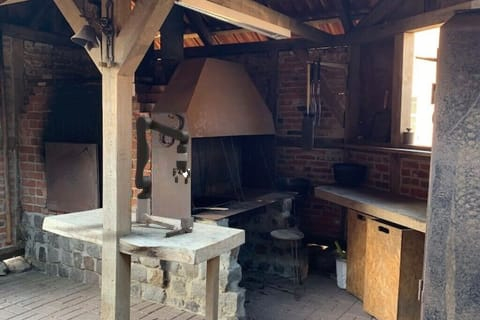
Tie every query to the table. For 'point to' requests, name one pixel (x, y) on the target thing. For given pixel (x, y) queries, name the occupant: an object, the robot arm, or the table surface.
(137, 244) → the table surface
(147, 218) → the wrench
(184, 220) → the socket
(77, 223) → the table surface
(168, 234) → the ratchet
